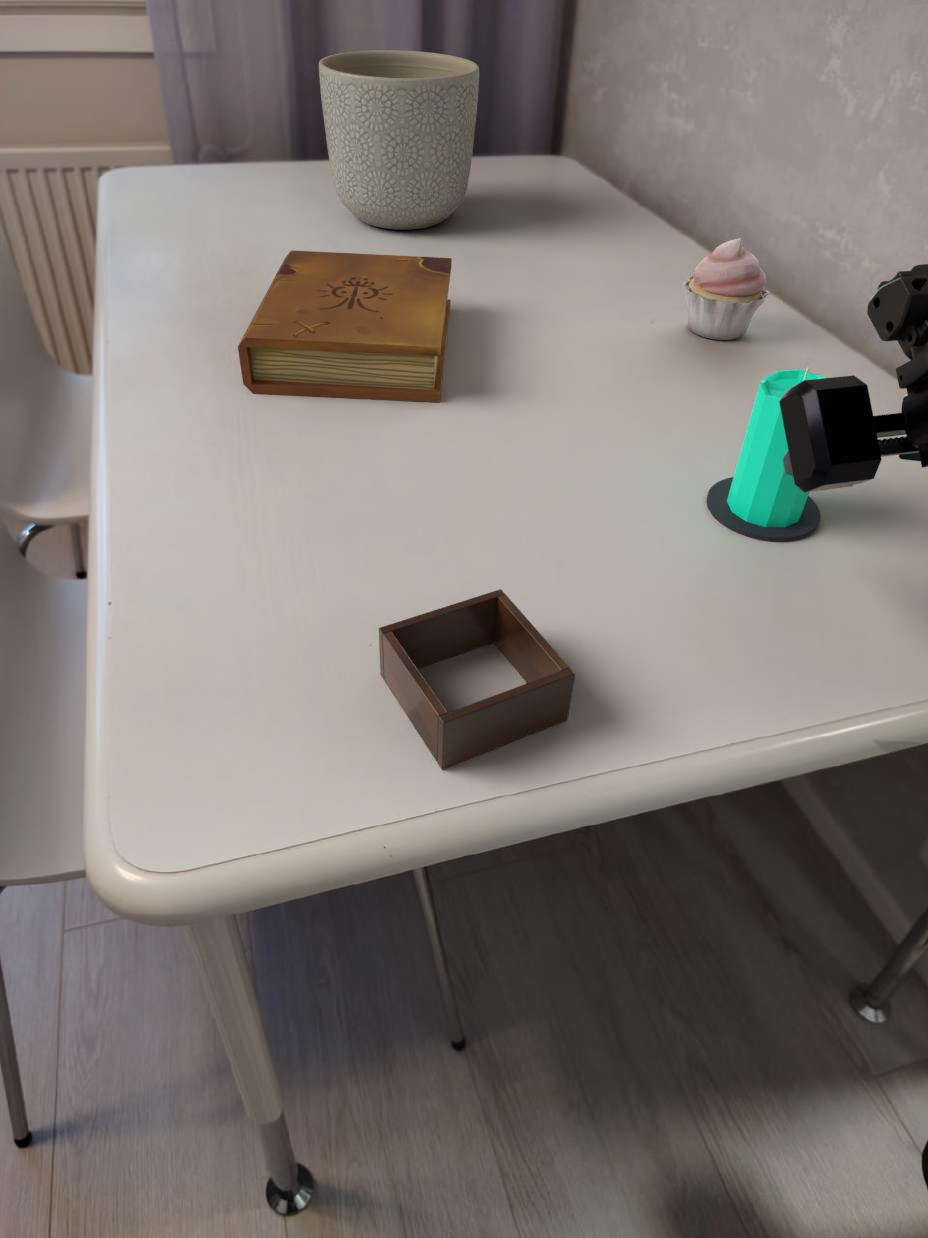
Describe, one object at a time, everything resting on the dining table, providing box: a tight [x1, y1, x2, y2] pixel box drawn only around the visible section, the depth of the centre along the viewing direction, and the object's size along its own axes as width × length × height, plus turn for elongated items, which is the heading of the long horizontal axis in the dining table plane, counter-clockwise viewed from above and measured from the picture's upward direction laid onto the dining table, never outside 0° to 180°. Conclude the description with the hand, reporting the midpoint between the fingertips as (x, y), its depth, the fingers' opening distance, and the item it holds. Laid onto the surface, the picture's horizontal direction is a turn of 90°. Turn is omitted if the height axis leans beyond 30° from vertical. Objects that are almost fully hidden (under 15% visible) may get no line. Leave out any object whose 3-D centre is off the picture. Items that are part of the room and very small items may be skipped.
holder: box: [378, 588, 576, 770], centre depth 52 cm, size 9×9×4 cm
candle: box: [727, 366, 828, 527], centre depth 66 cm, size 6×6×12 cm
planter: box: [318, 49, 480, 231], centre depth 118 cm, size 21×21×19 cm
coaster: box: [706, 476, 821, 542], centre depth 71 cm, size 9×9×1 cm
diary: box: [237, 249, 453, 403], centre depth 89 cm, size 23×19×6 cm
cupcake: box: [683, 237, 771, 341], centre depth 95 cm, size 9×9×10 cm
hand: (844, 458), depth 60 cm, fingers open, 9 cm apart
